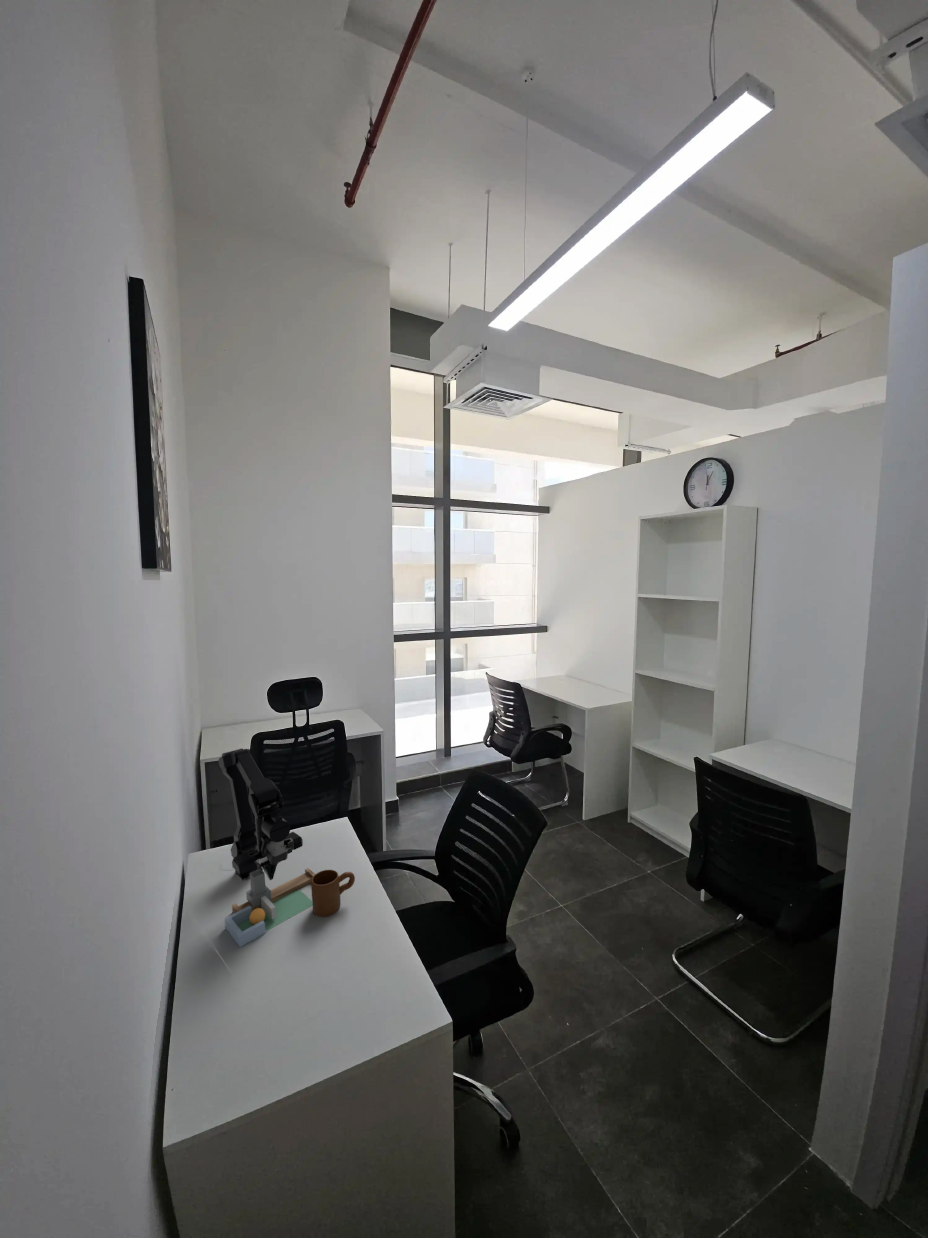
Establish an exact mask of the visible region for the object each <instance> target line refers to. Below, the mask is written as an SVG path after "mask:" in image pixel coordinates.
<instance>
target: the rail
mask: <svg viewBox="0 0 928 1238" xmlns="http://www.w3.org/2000/svg"><path fill="white" fill-rule="evenodd" d="M315 874H316V873H315V872H314V871H312V870H311V869H310V868H309V867H306V868H304V873H303V874H300V875H298V876H296V877H295V878H292V879H290V880H289V881H286V882H284V883H283V884H280V885H278V886H276V887H274V888H272V889H270V890H271V899H270V901H271V902H272V903H273V902H274V901H276V900H278V899H280V898H282V897H284V896H286V895H288V894H290V893H292V892H294V891H296V890H298V889H299V890H301V889H302V888H304V887H306V886H308V885H310V884H311V880H312V877H313V876H314V875H315ZM248 906H251V908H252V911H253V910H254V909H257V908H262V906H261V904H260V905H258V906H256V907H253V906H252V905H251V904H250V903H249V902H248V901H246V902H243V903H242V904H240V905H238V904H237V903H236V902H235V903H232V904H231V911H232V914H234V913H236V912H238V911H240V910H242V909H244V908H246V907H248Z"/></svg>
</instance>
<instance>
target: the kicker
mask: <svg viewBox="0 0 928 1238" xmlns="http://www.w3.org/2000/svg"><path fill="white" fill-rule="evenodd" d="M249 882H250V889H249V890H248V889H247V891H245V892H246V893H245V894H246V901H247V902H249V903H250V904H251V905H252V906H253V907H256V906H258V905H260V904H261V906H262V909H263V910H264V911H265V912H266V913H267V914H268V915H269V916H270V918H271V919H274V918H276V907H275V906H274V905H273V903H272V902H271V901H270V899H271V890H272V889H270V888H269V887H268V886H267V885H266V873H265V871H264V870H263V871H262V870H261V869H258V870H256V871H253V872H251V873H250V877H249Z"/></svg>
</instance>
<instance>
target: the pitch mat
mask: <svg viewBox="0 0 928 1238" xmlns="http://www.w3.org/2000/svg"><path fill="white" fill-rule="evenodd" d="M273 905H274V906H275V907H276V918H274V919H271V918H270V916H269V915H268V914H267V913H266V912H265V919H264V922H265V931H266V932H267V931H269V930H271V929H273V928H274V927H277V926H279V925H280V924H281V923H284V922H286V921H288V920H289V919H291V918H292V917H294V916H296V915H298V914H300V913H302V912H303V911H305V910H307V909H308V908H311V907H313V903H312V899H311V898H309V897H308V895H306V894H305V893H304V892H303V891H302V890H301V889H298V890H296V891H294V892H292V893H290V894H288V895H286V896H284V897H282V898H280V899H278V900H276V901H274V902H273ZM261 909H262V908H261ZM237 926H238V927H239V928H240V930H241V931H244V930H246V929H248V928H250V927H252V926H254V925H253V924H251V923H250V920H249V919H248V920H246V921H244V922H242V923H240V924H238V925H237Z"/></svg>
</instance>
